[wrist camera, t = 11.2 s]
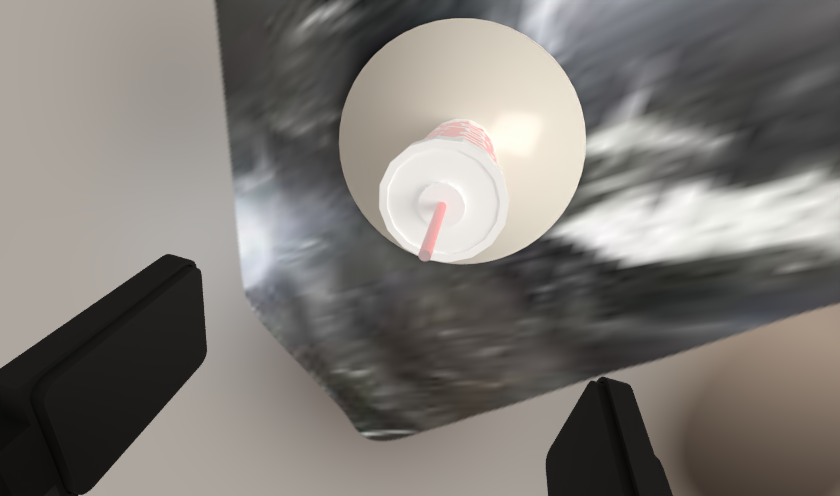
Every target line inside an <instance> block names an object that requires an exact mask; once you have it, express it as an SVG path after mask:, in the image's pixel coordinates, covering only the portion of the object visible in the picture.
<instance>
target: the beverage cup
mask: <svg viewBox="0 0 840 496" xmlns="http://www.w3.org/2000/svg"><path fill="white" fill-rule="evenodd" d="M508 206H509V196H508V191H507V187H506V183H505V179H504V175H503V171H502V170H501V169H500V167H499V166H498V165H497V159H496V154H495V149H494V146H493V142H492V138H491V137H490V136H489V134H488V133H487V132H486V130H485V129H484V128H483V127H482V126H480V125H478V124H477V123H475V122H473V121H471V120H465V119H453V120H450V121H447V122H444V123H442V124H441V125H439V126H438V127H437V128H436V129H435V130H434V131H432V132H431V133H430V134H429V135H428V136H427V137H426V138H425V139H423V140H420V141H417V142H414V143H412V144H411V145H410V146H409V147H407V148H406V149H405V150H404V151H403V152H402V153H400V154H399V155H398V156H397V157H396V158H395V159H393V160H392V161H391V162H390V164H389V166H388V168H387V170H386V172H385V175H384V177H383V179H382V181H381V183H380V193H379V209H380V212H381V215H382V217H383V220H384V222H385V225H386V227H387V230H388V231H389V232H390V233H391V235H392V236H393V237H394V238H395V239H396V240H397V241H398V242H399V243H400V244H401V246H402V247H403V248H405V249H407V250H409V251H410V252H412V253H414V254H416V255H418V256H419V258H420V260H422V261H428V260H435V261H442V262H453V261H458V260H463V259H468V258H472V257H474V256H475V255H477V254H478V253H480V252H481V251H483V250H484V249H486V248H487V247H489V246H491V245H492V244H493V242H494V241H495V239H496V238H497V236H498V235H499V233H500V232H501V230H502V229H503V227H504V226H505V223H506V217H507V212H508Z"/></svg>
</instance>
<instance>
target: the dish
mask: <svg viewBox="0 0 840 496" xmlns="http://www.w3.org/2000/svg"><path fill="white" fill-rule="evenodd" d="M453 119H465V120H471V121H473V122H475V123H477V124H478V125H480V126H482V127H483V128H484V129H485V130H486V132H487V133H488V134H489V136H490V137H491V138H492V142H493V146H494V149H495V154H496V159H497V165H498V166H499V167H500V169H501V170H502V171H503V175H504V179H505V183H506V187H507V191H508V196H509V206H508V212H507V217H506V223H505V226H504V227H503V229H502V230H501V232H500V233H499V235H498V236H497V238H496V239H495V241H494V242H493V244H492V245H491V246H489V247H487V248H486V249H484V250H483V251H481V252H480V253H478V254H477V255H475V256H474V257H472V258H468V259H463V260H458V261H453V262H442V261H438V262H442V263H451V264H474V263H482V262H488V261H492V260H496V259H500V258H502V257H505V256H508V255H510V254H513V253H515V252H517V251H519V250H521V249H522V248H524V247H526V246H528V245H529V244H531V243H532V242H534V241H535V240H536V239H538V238H539V237H540V236H542V235H543V234H544V233H545V232H546V231H547V230H548V229H549V228H550V227H551V226H552V225H553V224H554V223H555V222H556V221H557V219H558V218H559V217H560V216H561V215H562V213H563V212H564V210H565V209H566V207H567V206H568V204H569V203H570V201H571V199H572V197H573V195H574V193H575V191H576V189H577V186H578V183H579V180H580V177H581V174H582V170H583V164H584V159H585V149H586V133H585V122H584V118H583V113H582V109H581V105H580V102H579V100H578V97H577V94H576V92H575V89H574V87H573V86H572V84H571V82H570V80H569V78H568V77H567V75H566V73H565V72H564V71H563V69H562V68H561V67H560V65H559V64H558V63H557V62H556V60H555V59H554V58H553V57H552V56H551V55H550V54H549V53H548V52H547V51H546V50H545V49H544V48H542V47H541V46H540V45H539V44H537V43H536V42H534V41H533V40H532V39H530V38H529V37H527V36H526V35H524V34H522V33H520V32H518V31H516V30H514V29H512V28H510V27H507V26H504V25H501V24H498V23H495V22H492V21H486V20H479V19H473V18H453V19H446V20H438V21H434V22H430V23H427V24H424V25H420V26H418V27H415V28H413V29H411V30H409V31H407V32H405V33H402V34H401V35H399V36H398V37H396V38H395V39H393V40H392V41H390V42H389V43H387V44H386V45H385V46H384V47H383V48H381V49H380V50H379V51H378V52H377V53H376V54H375V55H374V56H373V57H372V58H371V59H370V60H369V62H368V63H367V64H366V65H365V66H364V67H363V69H362V70H361V72H360V74H359V75H358V77H357V78H356V80H355V81H354V83H353V85H352V88H351V90H350V92H349V94H348V96H347V99H346V102H345V105H344V108H343V112H342V117H341V123H340V131H339V151H340V160H341V165H342V170H343V174H344V177H345V180H346V183H347V186H348V188H349V191H350V193H351V195H352V197H353V199H354V201H355V202H356V204H357V206H358V207H359V209H360V210H361V212H362V213H363V215H364V216H365V217H366V218H367V220H368V221H369V222H370V223H371V224H372V225H373V226H374V227H375V228H376V229H377V230H378V231H379V232H380V233H381V234H382V235H383V236H385V237H386V238H387V239H389V240H390V241H391V242H392V243H394V244H396V245H397V246H399V247H401V248H402V249H404V250H406V251H408V252H410V251H409V250H407V249H405V248H403V247H402V246H401V244H400V243H399V242H398V241H397V240H396V239H395V238H394V237H393V236H392V235H391V233H390V232H389V231H388V230H387V227H386V225H385V222H384V220H383V217H382V215H381V212H380V209H379V193H380V183H381V181H382V179H383V177H384V175H385V172H386V170H387V168H388V166H389V164H390V162H391V161H392V160H393V159H395V158H396V157H397V156H398V155H399V154H400V153H402V152H403V151H404V150H405V149H406V148H407V147H409V146H410V145H411V144H412V143H414V142H417V141H420V140H423V139H425V138H426V137H427V136H428V135H429V134H430V133H431V132H432V131H434V130H435V129H436V128H437V127H438V126H439V125H441V124H442V123H444V122H447V121H450V120H453ZM410 253H412V252H410ZM413 254H414V253H413ZM415 255H416V254H415ZM417 256H418V255H417ZM433 261H435V260H433Z"/></svg>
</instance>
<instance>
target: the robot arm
mask: <svg viewBox="0 0 840 496" xmlns="http://www.w3.org/2000/svg"><path fill="white" fill-rule="evenodd" d="M206 353H207V345H206V330H205V316H204V302H203V288H202V275H201V271H200V269H198V268H196V264H195V262H194V261H192V260H189V259H185V258H182V257H178V256H175V255H171V254H166V255H164V256H162V257H161V258H159V259H158V260H156V261H155V262H154V263H152V264H151V265H149V266H148V267H146V268H145V269H143V270H142V271H141V272H139V273H138V274H136V275H135V276H133V277H132V278H130V279H129V280H128V281H126V282H125V283H123V284H122V285H120V286H119V287H117V288H116V289H115V290H113V291H112V292H110V293H109V294H107V295H106V296H104V297H103V298H102V299H100V300H99V301H97V302H96V303H94V304H93V305H91V306H90V307H89V308H87V309H86V310H84V311H83V312H81V313H80V314H78V315H77V316H76V317H74V318H73V319H71V320H70V321H69V322H67V323H66V324H64V325H63V326H61V327H60V328H58V329H57V330H55V331H54V332H52V333H51V334H50V335H48V336H47V337H45V338H44V339H42V340H41V341H40V342H38V343H37V344H35V345H34V346H32V347H31V348H29V349H28V350H27V351H25V352H24V353H22V354H21V355H19V356H18V357H16V358H15V359H13V360H12V361H11V362H9V363H8V364H6V365H5V366H3V367H2V368H0V496H78V495H83V494H85V493H87V492H88V491H89V490H91V489H92V488H93V487H94V486H95V485H96V484H97V482H98V481H99V480H100V479H101V478H102V477H103V476H104V474H105V473H106V472H107V471H108V470H109V469H110V468H111V466H112V465H113V464H114V463H115V462H116V461H117V460H118V459H119V457H120V456H121V455H122V454H123V453H124V452H125V450H126V449H127V448H128V447H129V446H130V445H131V444H132V443H133V442H134V440H135V439H136V438H137V437H138V436H139V435H140V434H141V432H142V431H143V430H144V429H145V428H146V427H147V426H148V425H149V423H150V422H151V421H152V420H153V419H154V418H155V416H156V415H157V414H158V413H159V412H160V411H161V410H162V409H163V407H164V406H165V405H166V404H167V403H168V402H169V401H170V400H171V398H172V397H173V396H174V395H175V394H176V393H177V391H178V390H179V389H180V388H181V387H182V386H183V385H184V383H185V382H186V381H187V380H188V379H189V378H190V377H191V376H192V374H193V373H194V372H195V371H196V370H197V369H198V368H199V366H200V365H201V364H202V363H203V361H204V359H205V357H206ZM546 476H547V487H548V496H673V495H672V492H671V489H670V486H669V483H668V480H667V478H666V475H665V472H664V469H663V467H662V465H661V462H660V460H659V459H658V458H657V457H656V456H655V455H654V452H653V449H652V446H651V443H650V440H649V437H648V434H647V431H646V429H645V425H644V422H643V419H642V417H641V413H640V411H639V408H638V405H637V402H636V399H635V396H634V393H633V390H632V388H631V386H630V385H629V384H627V383H623V382H620V381H616V380H613V379H609V378H606V377H601V378H599V379H598V380H597V382H595V381H590V382H589V384H588V385H587V387H586V388H585V390H584V392H583V393H582V395H581V397H580V399H579V400H578V402H577V404H576V406H575V407H574V409H573V410H572V412H571V414H570V416H569V417H568V419H567V421H566V422H565V424H564V426H563V427H562V429H561V431H560V433H559V434H558V436H557V438H556V439H555V441H554V443H553V444H552V446H551V448H550V450H549V452H548V454H547V458H546Z"/></svg>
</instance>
